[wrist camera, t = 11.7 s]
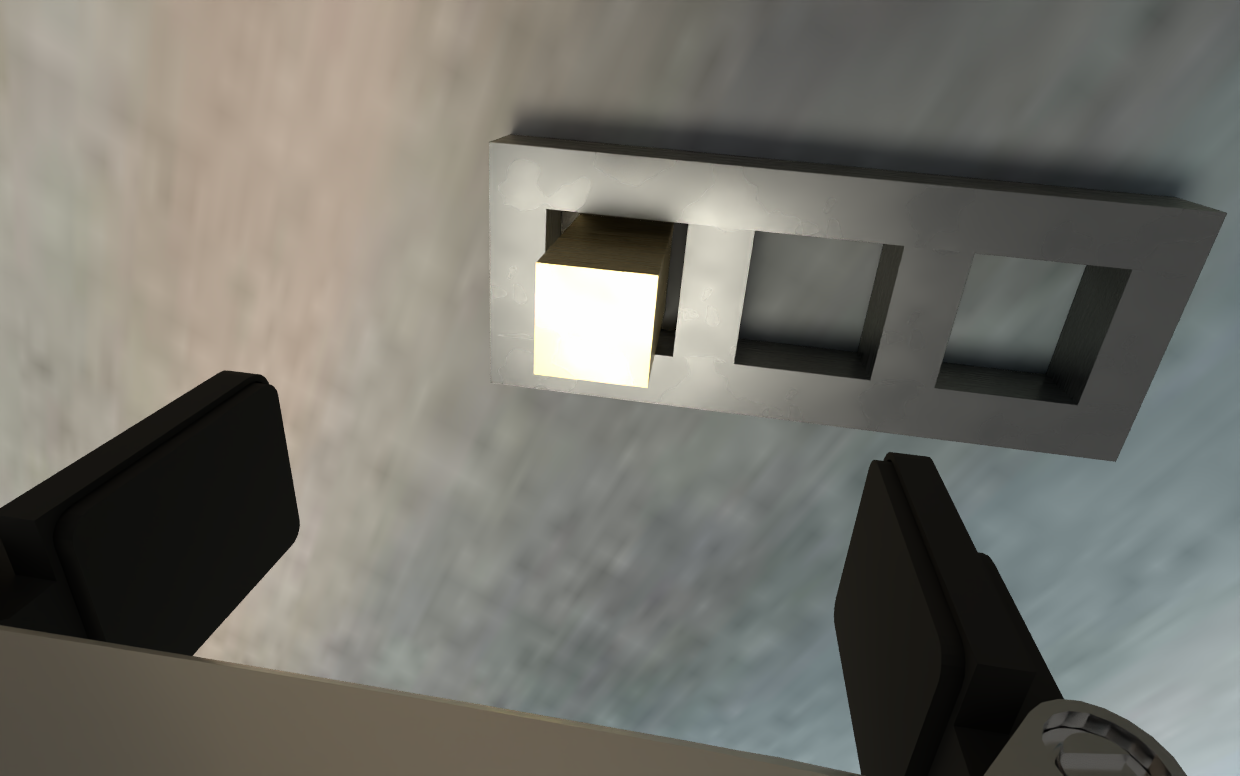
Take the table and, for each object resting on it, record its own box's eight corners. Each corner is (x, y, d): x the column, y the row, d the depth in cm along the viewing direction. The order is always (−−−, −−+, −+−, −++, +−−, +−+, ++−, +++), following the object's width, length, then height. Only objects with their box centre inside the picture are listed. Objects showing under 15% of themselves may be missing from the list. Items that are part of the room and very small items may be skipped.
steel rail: (1176, 197, 27) (1227, 212, 24) (1081, 426, 31) (1115, 461, 28) (510, 134, 29) (489, 142, 26) (509, 356, 33) (490, 382, 31)
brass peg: (673, 222, 30) (658, 275, 22) (664, 312, 31) (647, 388, 24) (580, 213, 30) (536, 262, 23) (576, 302, 32) (533, 374, 25)
